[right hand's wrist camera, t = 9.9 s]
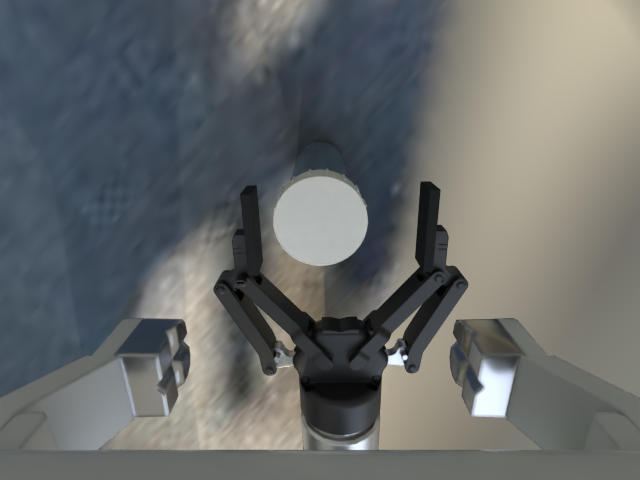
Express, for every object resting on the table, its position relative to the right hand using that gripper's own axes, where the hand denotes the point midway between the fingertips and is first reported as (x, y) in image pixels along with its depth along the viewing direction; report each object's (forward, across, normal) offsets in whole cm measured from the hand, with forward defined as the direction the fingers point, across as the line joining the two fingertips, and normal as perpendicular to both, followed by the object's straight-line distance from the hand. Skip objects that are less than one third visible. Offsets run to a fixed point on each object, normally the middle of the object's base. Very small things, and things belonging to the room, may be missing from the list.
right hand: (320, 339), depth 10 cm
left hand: (+20, -1, 0) cm, 20 cm away
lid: (+10, 0, 0) cm, 10 cm away
